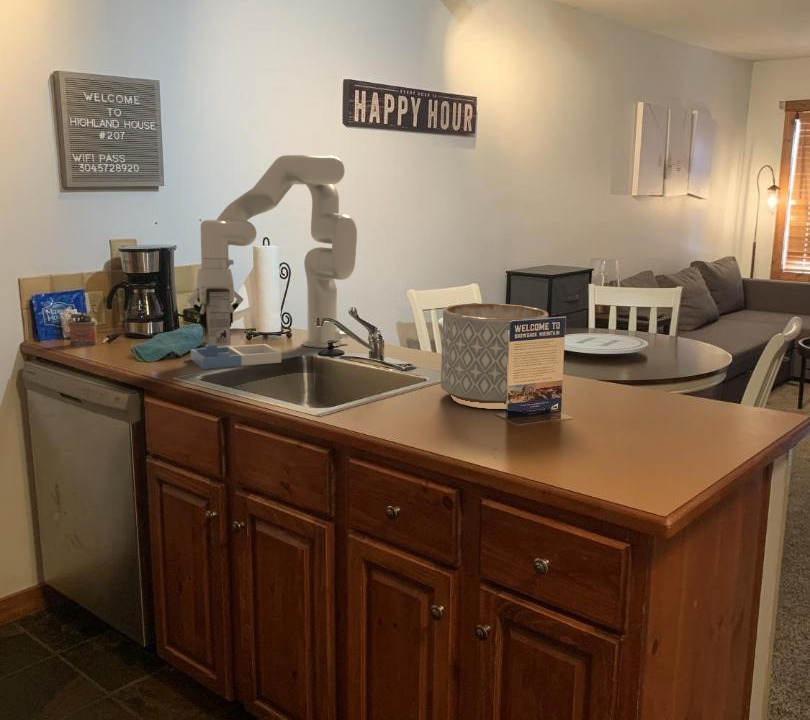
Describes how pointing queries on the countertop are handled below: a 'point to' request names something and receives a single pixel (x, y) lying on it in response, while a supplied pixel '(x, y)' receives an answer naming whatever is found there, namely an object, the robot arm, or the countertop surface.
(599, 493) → the countertop surface
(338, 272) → the robot arm
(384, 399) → the countertop surface
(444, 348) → the planter
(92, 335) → the lighter
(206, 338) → the coffee box
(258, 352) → the blue and white tray
